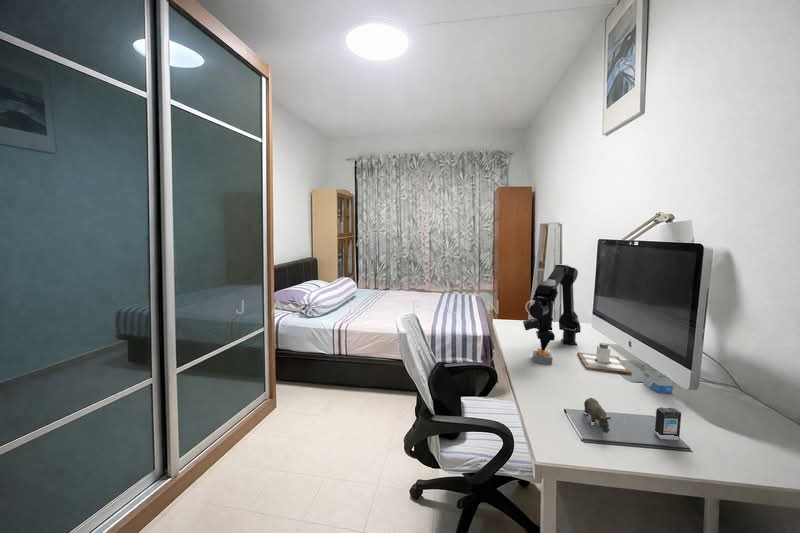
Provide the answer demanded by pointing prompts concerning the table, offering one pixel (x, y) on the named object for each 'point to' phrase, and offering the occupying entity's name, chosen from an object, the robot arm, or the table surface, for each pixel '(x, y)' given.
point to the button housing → (542, 358)
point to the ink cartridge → (668, 421)
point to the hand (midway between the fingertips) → (542, 350)
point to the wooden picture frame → (603, 364)
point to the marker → (603, 353)
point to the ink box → (657, 380)
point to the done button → (542, 352)
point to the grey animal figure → (597, 413)
